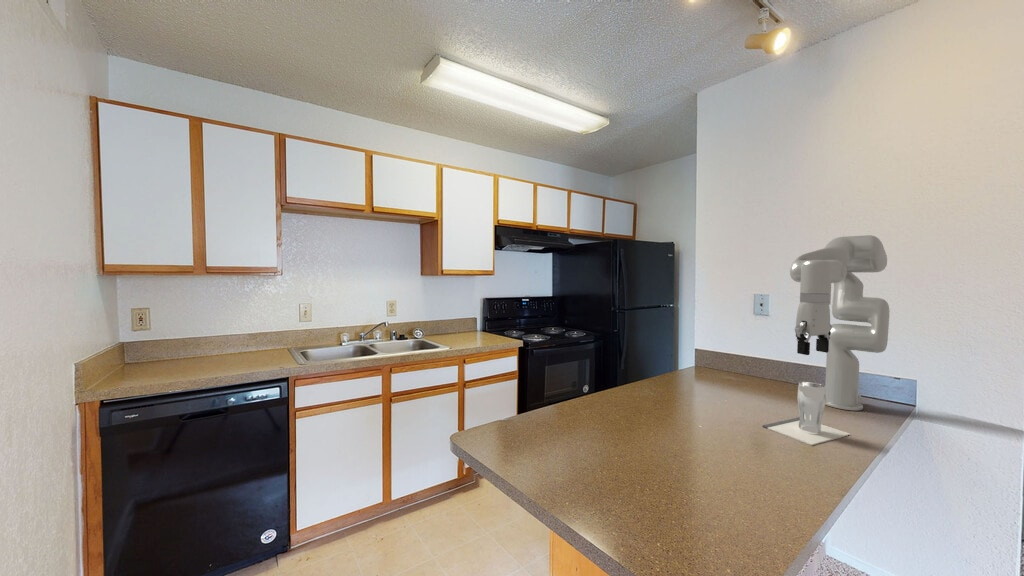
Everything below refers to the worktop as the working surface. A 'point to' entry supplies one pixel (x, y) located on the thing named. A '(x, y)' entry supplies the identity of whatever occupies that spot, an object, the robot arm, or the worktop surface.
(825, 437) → the mat
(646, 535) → the worktop surface
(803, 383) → the beer glass
